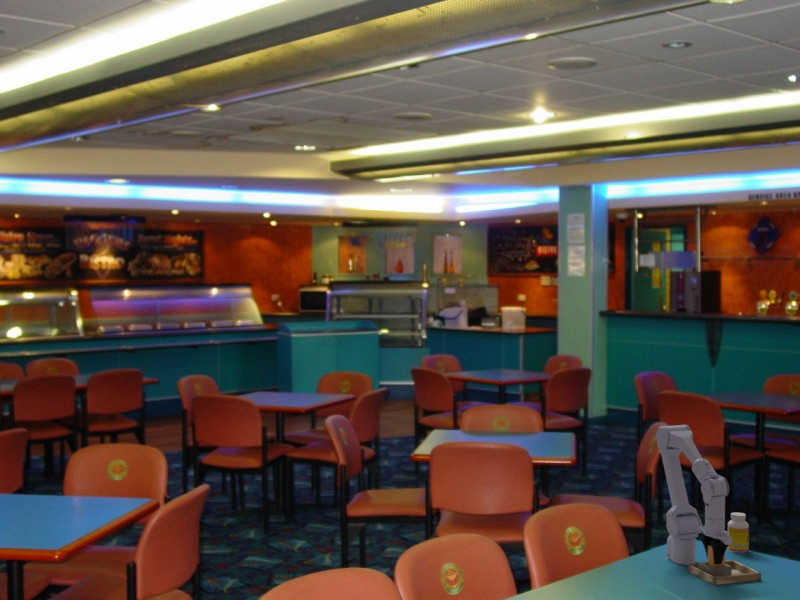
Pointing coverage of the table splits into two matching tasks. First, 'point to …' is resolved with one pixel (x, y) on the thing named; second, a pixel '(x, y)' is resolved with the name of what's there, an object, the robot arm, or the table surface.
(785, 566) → the table surface
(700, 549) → the table surface
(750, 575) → the walled box
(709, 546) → the plug
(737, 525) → the supplement bottle
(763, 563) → the table surface
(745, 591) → the table surface
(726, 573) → the inlet socket
